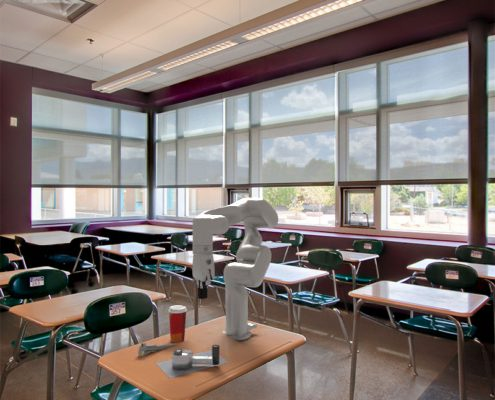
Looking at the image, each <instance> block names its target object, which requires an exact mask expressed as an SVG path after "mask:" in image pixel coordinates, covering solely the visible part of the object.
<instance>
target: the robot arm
mask: <svg viewBox="0 0 495 400" xmlns="http://www.w3.org/2000/svg"><path fill="white" fill-rule="evenodd" d="M242 221H243V226H244V236H243V239H242V241H241V243H240V245H239V248H238V249H237V251H236V256H235V260H236V261H237V262H229V263H227V264H226V265H225V266H224V269H223V280H224V284H225V330H223V331H222V334H223V335H224V334H225V335H226V336H228V337H230V338H231V339H233V341H245V340H248V339H249V338H251V336H252V332H251V330H254V329H257V328H258V325H257V324H256V323H253V324H252V323H250V322H249V323H248V320H249V319H248V316H249V315H248V312H249V310H248V305H249V303H248V302H249V296H248V295H249V294H248V291H247V289H246V287H248V288H258V287H259V286H261V284H262V283H263V282H264V279H265V276H266V274H267V272H268V270H269V267H270V264H271V262H272V251H271V249H270V247H268V246H267V245H263V244H262V243H263V237H262V234H260V232H259V230H258V229H259V228H260V229H273V228H275V227H277V225H278V224H279V215H278V213H277V211H276V209H275V208H274V207H273V206H272V205H271V203H270V202H269V201H267V200H266V199H264V198H261V197H244V198H241V199H239V200H236V202H235V201H234V202H232V203H231V204H229V205H225V206H220V207H216V208H213V209H212V208H211V209H209V210H208V209H207V210H205V211H203V212H202V213H200V214H198V215H197V216H195V217H193V219H192V269H191V270H192V277H193V278H194V280H195V281H196V284H197V285H196V286H197V298H198V299H199V300H205V299H207V298H208V287H209V286H210V285H212V282H211V281H215V279H216V277H215V276H216V275H215V274H216V273H215V270H216V269H215V258H214V253H213V251H214V250H213V249H214V246H213V244H214V241H213V240H214V235H220V236H221V235H223V234H226V233H227V232H228V231H229V229H230V226H233V225H237V224H239V223H240V222H242Z"/></svg>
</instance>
